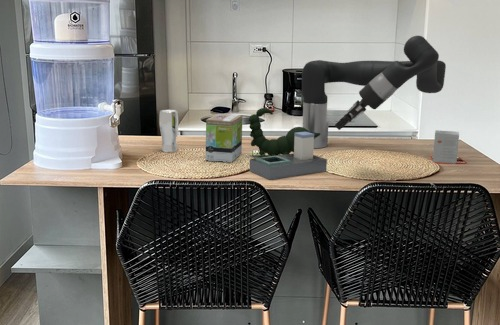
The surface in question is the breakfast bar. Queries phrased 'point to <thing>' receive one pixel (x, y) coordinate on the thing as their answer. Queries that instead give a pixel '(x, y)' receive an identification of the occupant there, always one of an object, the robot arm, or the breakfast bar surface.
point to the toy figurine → (272, 146)
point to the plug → (303, 145)
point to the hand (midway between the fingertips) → (339, 125)
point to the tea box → (223, 137)
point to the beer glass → (169, 130)
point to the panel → (286, 166)
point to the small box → (445, 146)
